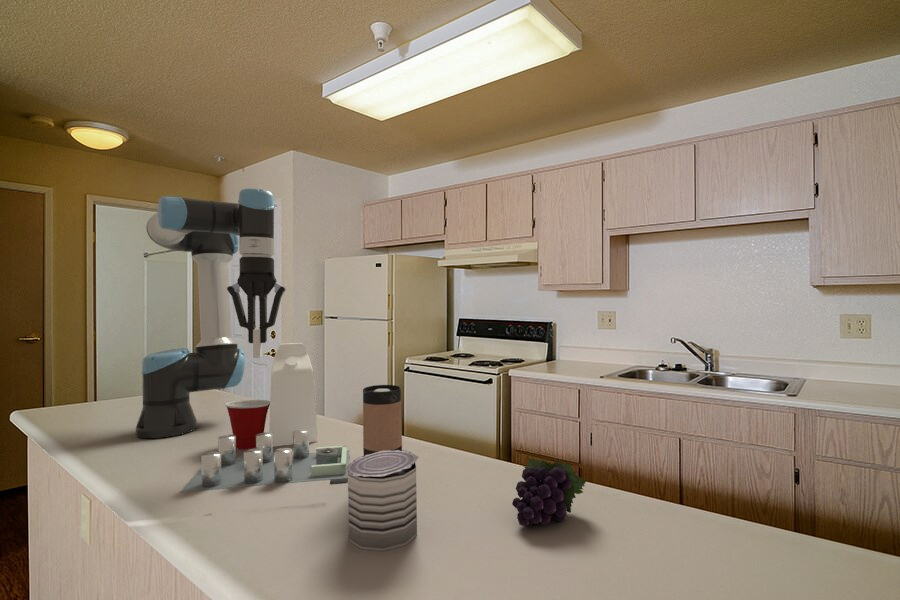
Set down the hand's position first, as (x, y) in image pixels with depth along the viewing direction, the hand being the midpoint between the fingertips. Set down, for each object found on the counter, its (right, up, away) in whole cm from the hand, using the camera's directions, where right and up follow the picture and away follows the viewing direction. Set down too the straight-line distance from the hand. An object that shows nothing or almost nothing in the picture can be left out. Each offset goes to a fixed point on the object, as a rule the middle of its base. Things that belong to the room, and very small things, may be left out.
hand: (257, 356), depth 112 cm
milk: (+3, -24, +15) cm, 29 cm away
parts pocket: (+19, -24, -6) cm, 31 cm away
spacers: (+4, -24, -8) cm, 26 cm away
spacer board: (+7, -24, -8) cm, 26 cm away
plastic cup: (-6, -25, +9) cm, 27 cm away
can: (+35, -25, -35) cm, 55 cm away
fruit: (+62, -24, -31) cm, 73 cm away
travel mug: (+32, -24, -17) cm, 44 cm away
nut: (+18, -23, -6) cm, 30 cm away
